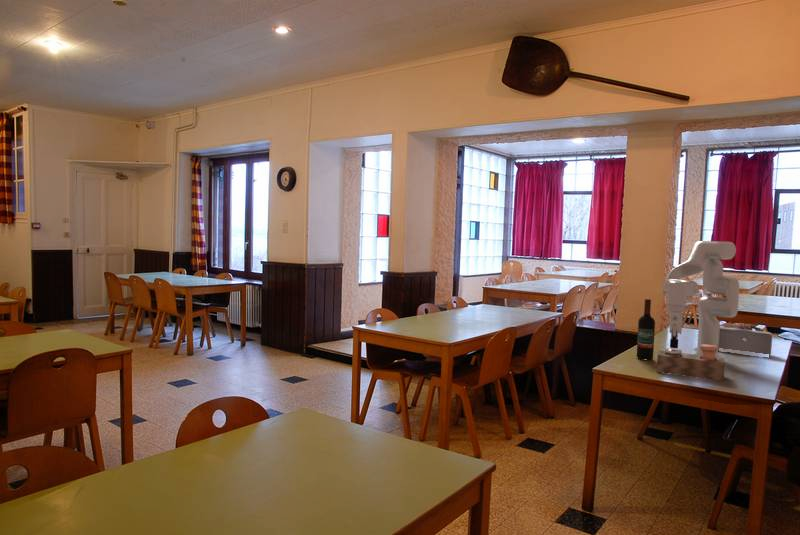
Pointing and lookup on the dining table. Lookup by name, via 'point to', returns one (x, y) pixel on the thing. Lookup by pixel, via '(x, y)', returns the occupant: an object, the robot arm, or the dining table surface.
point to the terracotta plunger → (708, 351)
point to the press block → (691, 366)
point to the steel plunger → (673, 352)
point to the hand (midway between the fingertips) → (673, 347)
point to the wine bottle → (646, 333)
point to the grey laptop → (754, 342)
